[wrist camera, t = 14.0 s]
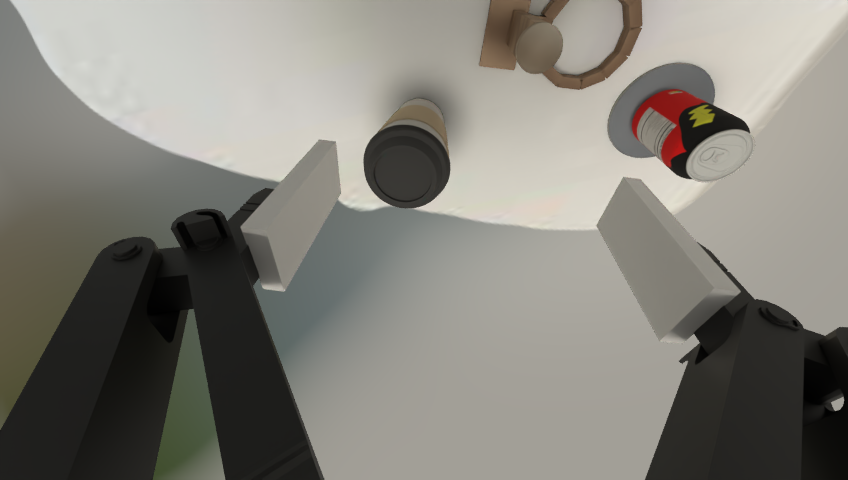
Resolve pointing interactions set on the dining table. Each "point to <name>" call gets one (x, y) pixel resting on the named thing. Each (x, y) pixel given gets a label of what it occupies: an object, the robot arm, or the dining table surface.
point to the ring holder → (548, 41)
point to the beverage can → (693, 136)
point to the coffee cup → (409, 156)
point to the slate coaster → (646, 87)
